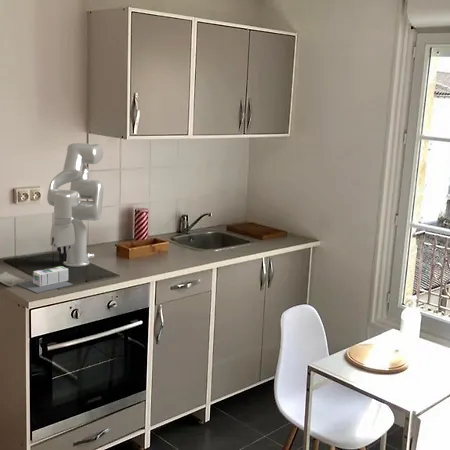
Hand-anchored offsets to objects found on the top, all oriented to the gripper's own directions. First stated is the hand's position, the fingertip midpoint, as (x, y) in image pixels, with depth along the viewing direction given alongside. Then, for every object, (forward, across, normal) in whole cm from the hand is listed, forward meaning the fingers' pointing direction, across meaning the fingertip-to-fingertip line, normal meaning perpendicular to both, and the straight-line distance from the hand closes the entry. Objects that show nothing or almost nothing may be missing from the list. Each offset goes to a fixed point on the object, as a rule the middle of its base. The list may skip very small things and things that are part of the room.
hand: (63, 261), depth 277 cm
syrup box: (+6, -1, 0) cm, 6 cm away
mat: (+9, +9, 0) cm, 13 cm away
